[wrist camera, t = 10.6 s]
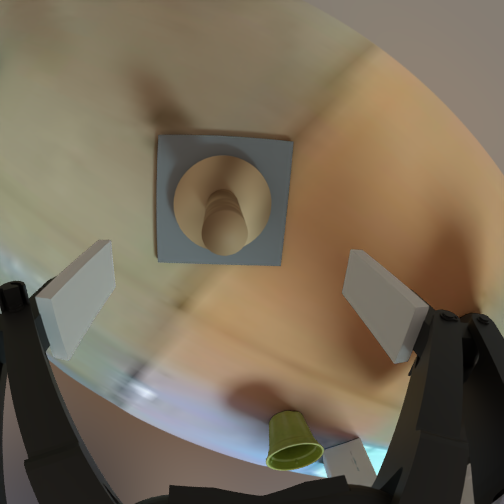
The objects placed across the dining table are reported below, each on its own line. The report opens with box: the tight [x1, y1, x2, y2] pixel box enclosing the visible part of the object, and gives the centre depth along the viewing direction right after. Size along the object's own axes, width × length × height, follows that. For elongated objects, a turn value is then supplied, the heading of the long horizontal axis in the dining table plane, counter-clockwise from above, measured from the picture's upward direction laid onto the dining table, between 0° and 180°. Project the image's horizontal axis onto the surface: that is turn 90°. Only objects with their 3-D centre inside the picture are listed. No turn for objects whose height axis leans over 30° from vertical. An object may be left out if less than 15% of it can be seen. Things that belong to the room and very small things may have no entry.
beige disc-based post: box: [174, 155, 271, 256], centre depth 25 cm, size 10×10×11 cm
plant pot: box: [266, 411, 324, 471], centre depth 41 cm, size 9×9×9 cm
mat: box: [157, 135, 293, 266], centre depth 31 cm, size 14×14×1 cm
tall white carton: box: [323, 438, 377, 487], centre depth 42 cm, size 9×9×25 cm
